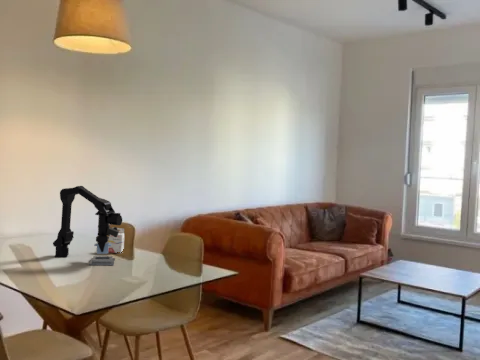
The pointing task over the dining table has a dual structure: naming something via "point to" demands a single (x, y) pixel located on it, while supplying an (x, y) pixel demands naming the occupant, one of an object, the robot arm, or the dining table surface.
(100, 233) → the robot arm
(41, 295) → the dining table surface
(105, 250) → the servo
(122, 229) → the ink cartridge box
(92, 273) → the dining table surface
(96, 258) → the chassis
